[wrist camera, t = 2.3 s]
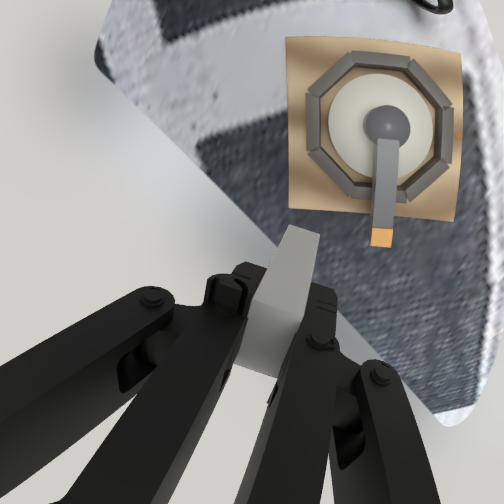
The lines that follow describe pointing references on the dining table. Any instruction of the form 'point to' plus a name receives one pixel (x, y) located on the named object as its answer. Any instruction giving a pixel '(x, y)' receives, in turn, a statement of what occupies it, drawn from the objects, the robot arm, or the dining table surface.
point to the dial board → (317, 129)
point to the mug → (443, 6)
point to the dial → (380, 140)
